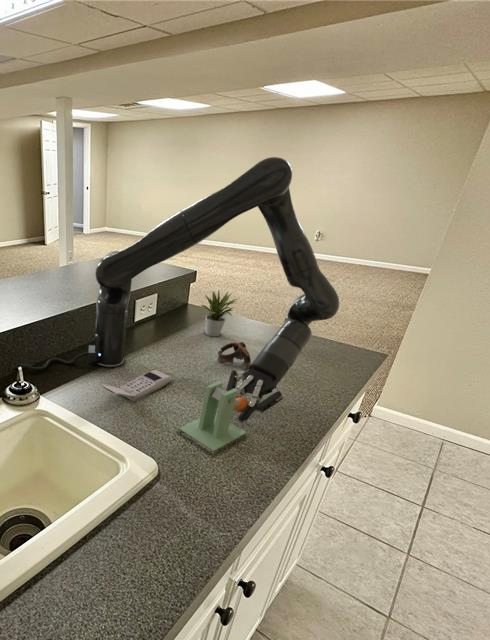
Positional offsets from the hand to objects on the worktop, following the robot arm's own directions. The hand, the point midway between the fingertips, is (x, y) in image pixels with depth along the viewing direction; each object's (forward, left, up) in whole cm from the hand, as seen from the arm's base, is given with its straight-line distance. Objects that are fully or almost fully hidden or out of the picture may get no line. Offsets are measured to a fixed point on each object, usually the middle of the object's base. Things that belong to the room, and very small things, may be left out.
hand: (232, 415), depth 97 cm
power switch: (-6, -4, -3) cm, 8 cm away
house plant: (+12, +58, -3) cm, 59 cm away
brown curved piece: (+12, +34, -3) cm, 36 cm away
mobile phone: (-21, +15, -3) cm, 25 cm away
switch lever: (-3, -2, +4) cm, 5 cm away
